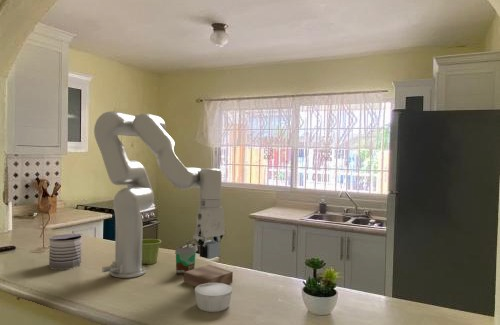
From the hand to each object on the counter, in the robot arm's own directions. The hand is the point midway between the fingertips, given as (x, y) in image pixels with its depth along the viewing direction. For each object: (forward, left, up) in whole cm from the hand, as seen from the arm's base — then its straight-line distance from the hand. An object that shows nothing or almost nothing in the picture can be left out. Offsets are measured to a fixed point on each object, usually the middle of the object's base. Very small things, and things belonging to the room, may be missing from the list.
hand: (209, 255), depth 131 cm
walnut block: (0, 0, -10) cm, 10 cm away
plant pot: (-1, +34, -10) cm, 36 cm away
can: (-26, +53, -10) cm, 60 cm away
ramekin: (-13, -16, -10) cm, 23 cm away
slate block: (0, 0, -1) cm, 1 cm away
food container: (+3, +14, -10) cm, 18 cm away
